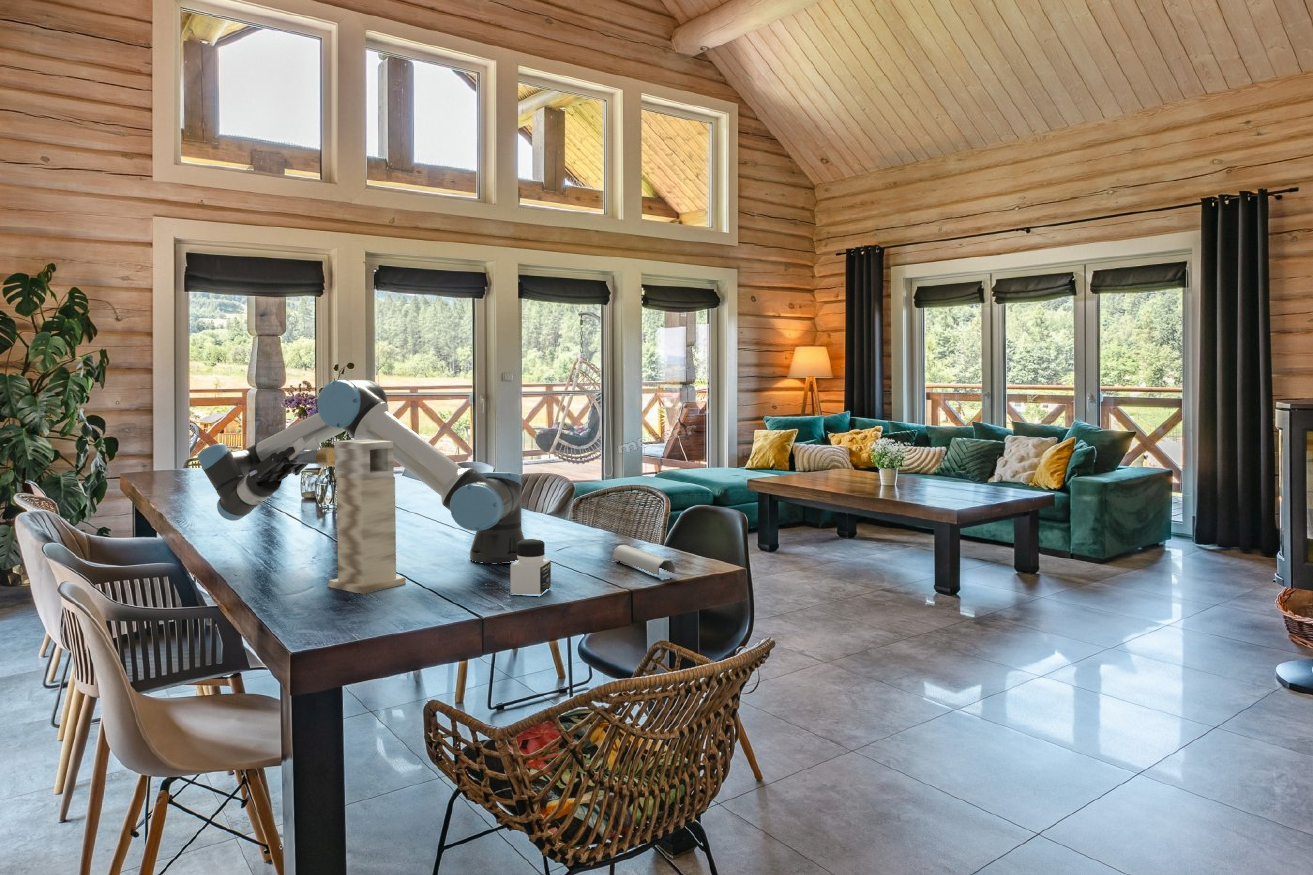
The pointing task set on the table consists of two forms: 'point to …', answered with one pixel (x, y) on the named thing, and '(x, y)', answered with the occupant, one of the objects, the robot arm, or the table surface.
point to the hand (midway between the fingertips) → (310, 442)
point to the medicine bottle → (530, 568)
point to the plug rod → (315, 457)
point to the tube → (643, 559)
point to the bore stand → (365, 516)
